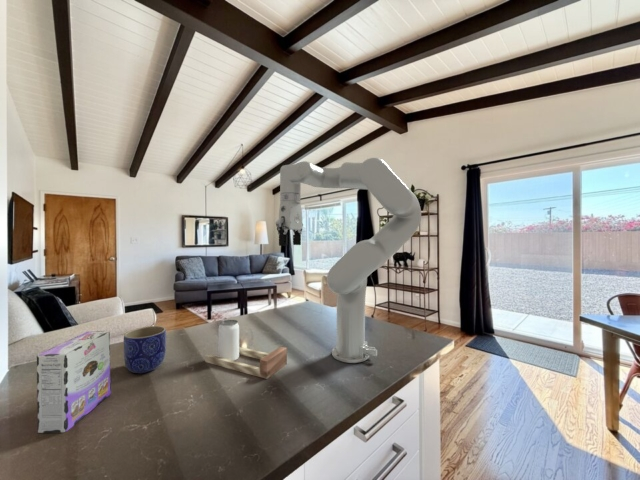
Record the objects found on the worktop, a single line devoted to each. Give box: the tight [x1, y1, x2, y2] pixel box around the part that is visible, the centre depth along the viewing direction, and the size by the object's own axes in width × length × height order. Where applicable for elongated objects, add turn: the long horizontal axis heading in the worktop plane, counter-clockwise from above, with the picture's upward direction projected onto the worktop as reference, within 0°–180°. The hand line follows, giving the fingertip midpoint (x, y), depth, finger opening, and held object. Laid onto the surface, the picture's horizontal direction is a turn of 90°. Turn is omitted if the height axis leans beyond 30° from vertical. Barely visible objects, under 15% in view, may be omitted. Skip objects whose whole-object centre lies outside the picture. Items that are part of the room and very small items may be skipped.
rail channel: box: [204, 346, 288, 380], centre depth 88 cm, size 24×10×5 cm, turn 64°
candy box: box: [36, 330, 112, 434], centre depth 64 cm, size 14×6×16 cm, turn 4°
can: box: [217, 319, 240, 361], centre depth 91 cm, size 6×6×12 cm
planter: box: [123, 325, 167, 374], centre depth 85 cm, size 11×11×11 cm
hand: (290, 245), depth 104 cm, fingers open, 9 cm apart
